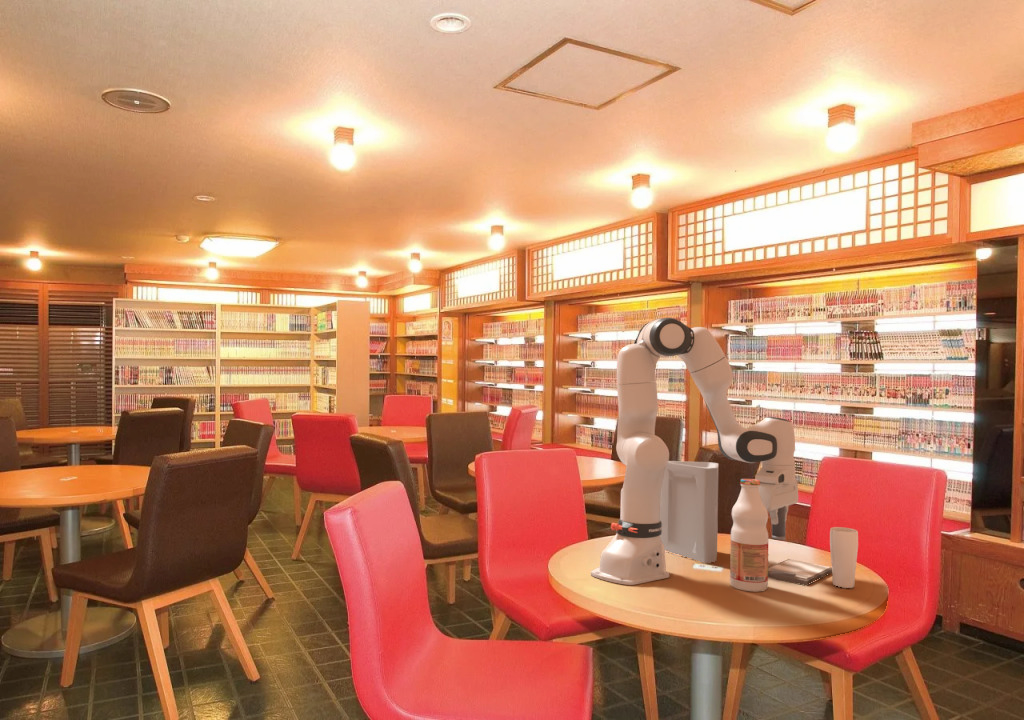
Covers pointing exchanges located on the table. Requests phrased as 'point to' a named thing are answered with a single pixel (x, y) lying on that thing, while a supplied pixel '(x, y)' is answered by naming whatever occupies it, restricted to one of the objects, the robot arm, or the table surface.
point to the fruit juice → (749, 540)
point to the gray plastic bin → (690, 509)
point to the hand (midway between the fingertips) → (778, 522)
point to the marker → (779, 526)
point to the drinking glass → (843, 556)
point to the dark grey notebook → (798, 571)
